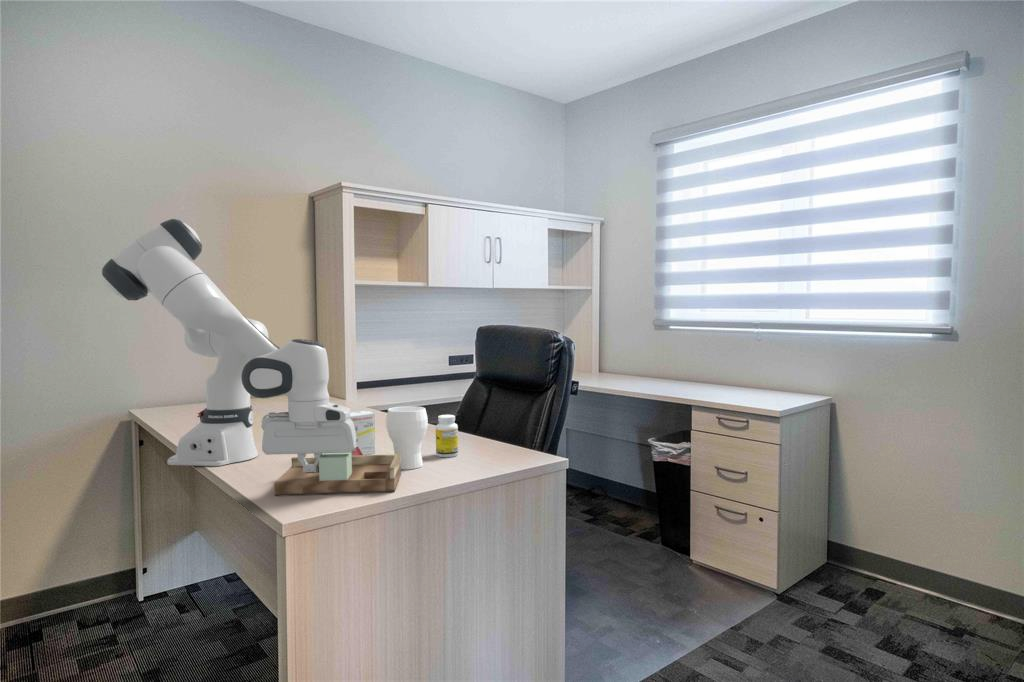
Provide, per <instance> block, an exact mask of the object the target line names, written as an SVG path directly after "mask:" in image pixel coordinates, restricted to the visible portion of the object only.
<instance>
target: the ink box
mask: <svg viewBox="0 0 1024 682" xmlns="http://www.w3.org/2000/svg"><path fill="white" fill-rule="evenodd" d="M349 419H351V420H352V421H353V423H354V427H355V432H356V448H355V449H354V450H353V451H352V452H351V454H352V456H359V455H375V454H376V452H377V451H376V448H377V447H376V446H377V445H376V413H375V412H372V411H369V410H361V411H353V412H352V411H350V416H349Z"/></svg>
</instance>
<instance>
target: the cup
mask: <svg viewBox="0 0 1024 682" xmlns="http://www.w3.org/2000/svg"><path fill="white" fill-rule="evenodd" d="M428 419H429V418H428V413H427V410H426V408H425V407H423V406H418V405H416V406H415V405H403V406H395V407H394V406H393V407H390V408H388V409H387V414H386V419H385V422H386V423H385V425H386V430H387V434H388V436H389V438H390V440H391V442H392V445H393V455H394V454H396V453H400V454H401V470H415V469H419V468H421V467H423V464H424V463H423V457H422V453H421V450H422V442H423V440H424V438H425V436H426V433H427V430H428V423H429V422H428Z"/></svg>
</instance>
